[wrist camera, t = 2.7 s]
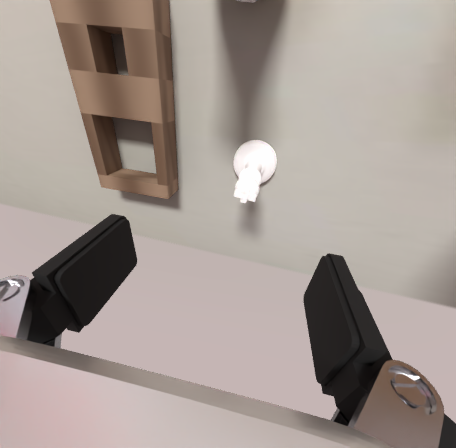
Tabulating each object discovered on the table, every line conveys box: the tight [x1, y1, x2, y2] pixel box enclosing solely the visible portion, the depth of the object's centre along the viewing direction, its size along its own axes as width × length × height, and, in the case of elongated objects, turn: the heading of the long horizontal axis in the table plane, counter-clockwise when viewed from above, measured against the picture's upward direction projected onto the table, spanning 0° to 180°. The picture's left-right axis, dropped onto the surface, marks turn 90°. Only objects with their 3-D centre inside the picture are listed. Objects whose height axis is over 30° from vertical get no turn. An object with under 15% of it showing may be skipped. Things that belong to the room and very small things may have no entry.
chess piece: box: [233, 140, 277, 203], centre depth 19 cm, size 5×5×10 cm
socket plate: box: [50, 0, 178, 199], centre depth 21 cm, size 9×18×3 cm, turn 175°
